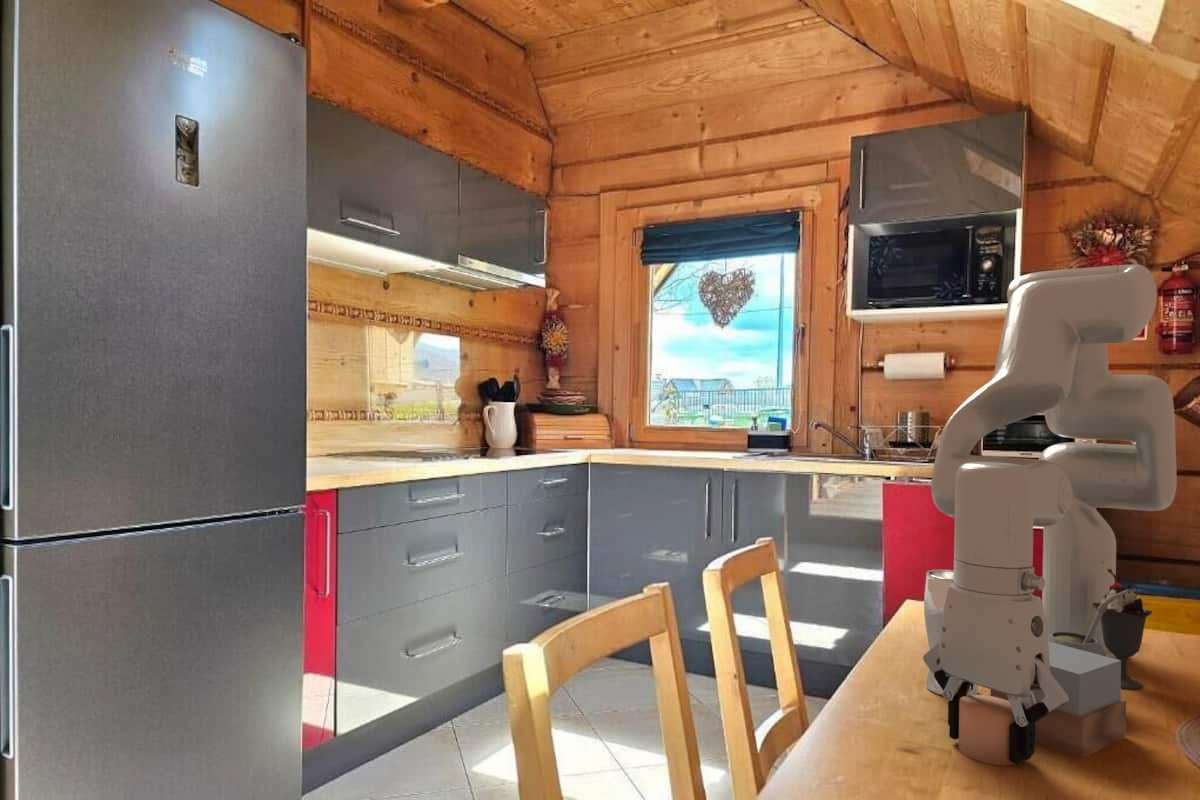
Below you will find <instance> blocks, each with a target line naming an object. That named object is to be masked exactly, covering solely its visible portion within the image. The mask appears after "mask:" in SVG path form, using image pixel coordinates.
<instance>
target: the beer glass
mask: <svg viewBox="0 0 1200 800" xmlns="http://www.w3.org/2000/svg"><path fill="white" fill-rule="evenodd" d="M925 574H926V575H925V577H926V579H925V587H924V598H923V600H924V601H923V611H924V613H923V615H924V623H925V631H926V637H927V642H928V643H927V644H928V648H929V650H931V649H932V648H933V647H934V646H936V645H937V644H938V643H939V642H940V631H941V621H942V614H943V608H944V603H945V599H946V594H947V591H948V588H949V585H951V584H954V569H931V570H928V571H926V573H925ZM925 686H926V688H927V689H928V690H929V691H930V692H932V693H934V694H936V695H939V696H942V697H944V696H943V690H942V688H941V687H940V685H939V684H938V682H937V681H936V679H935V677H934V673H932V672H931V670H930V669H929V668H928V675H927V678H926V685H925ZM978 691H979V690H978V685H976V684H973V683H972V684H971V686H970V688H969V691H968V693H967V696H968V695H979V694H978V693H979V692H978Z"/></svg>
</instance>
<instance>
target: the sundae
mask: <svg viewBox="0 0 1200 800" xmlns="http://www.w3.org/2000/svg"><path fill="white" fill-rule="evenodd" d="M1107 571H1108V572H1109V573H1111V574H1112V575H1113V577H1114V579H1115V583H1114V584H1113V585H1111V586H1110V587H1109V589H1110V591H1109V592H1108V593H1107V594H1106V595H1105V596H1104V597H1103V599H1102V602H1101V603H1103V602H1104V601H1105V600H1107V599H1108V598H1109V597H1111V596H1113V595H1115V594H1118V593H1120V592H1123V591H1125V590H1128V592H1127V593H1125V594H1124V595H1122V596H1120V597H1119V598H1117V599H1115V600H1114V601H1112V602H1111V603H1110V604H1109V605H1108V608H1107V609H1106V611H1105V613H1103V615H1102V617H1101V626H1102V634H1103V639H1104V644H1105V646H1106V647H1107V649H1108V650H1109V651H1110V652H1111V653H1112V654H1114V655H1115V657H1116V658H1117V660H1121V689H1122V690H1130V691H1131V690H1132V691H1133V690H1136V691H1137V690H1141V689H1143V688H1144V684H1143V683H1142V682H1140V681H1138V680H1136V679H1133V678H1131V676H1129V674H1128V669H1127V668H1128V667H1127V663H1128V662H1127V661H1128V659H1129V658H1131V657H1133V656H1135V655H1136V654H1137V653H1138V652H1139V651H1140V648H1141V645H1142V641H1143V636H1144V632H1145V631H1144V629H1145V625H1146V619H1147V617H1148V616H1150V615H1152V614H1153V610H1149V609H1148V610H1147V609H1146V608H1145V607H1144V606H1143V599H1142V598H1138V597H1137V595H1136V594H1135V593H1134V592H1133V591H1132V590H1131V589H1128V588H1126V587H1124V586H1123V585H1122V583H1119V582H1118V579H1117V575H1116V576H1115V574H1114V573H1113V572H1112V569H1107ZM1101 603H1093V604H1092V605H1093V607H1095V608H1096V609H1097V610H1098V608H1099V606H1100V604H1101Z"/></svg>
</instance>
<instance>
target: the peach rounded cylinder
mask: <svg viewBox="0 0 1200 800" xmlns="http://www.w3.org/2000/svg"><path fill="white" fill-rule="evenodd" d="M1014 722H1015V718H1014V715H1013V712H1012V709H1011V706H1010V702H1009V701H1007V700H1004V699H1001V698H997V697H992V696H990V695H986V694H985V695H983V694H977V695H968V696H963V697H961V698H960V700H959V739H958V749H959V750H958V751H960V752H961V753H962V754H963V755H965V756H966V757H967V758H970V759H973V760H975V761H978V762H982V763H983V764H984V763H985V764H987V765H988V764H989V765H994V766H1013V765H1016V764H1015V763H1012V762H1011V761H1010V760H1009V729H1010V724H1011V723H1014Z"/></svg>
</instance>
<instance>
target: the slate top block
mask: <svg viewBox="0 0 1200 800" xmlns="http://www.w3.org/2000/svg"><path fill="white" fill-rule="evenodd" d="M1048 644H1049V658H1050V673H1051V674H1052V676H1053V677H1054V678H1055V679H1056V681H1057V682H1058V683H1059V685H1060V686H1061V687H1062V689H1063V690H1064V691H1065V693H1066V694H1067V695H1068V697H1069V701H1068V702H1067V703H1065V704H1064V705H1062V706H1060V707H1059V708H1057V710H1060V711H1063V712H1066V713H1069V714H1072V715H1075V716H1078V717H1080V716H1082V715H1085V714H1087V713H1090V712H1092V711H1095V710H1098V709H1100V708H1103V707H1105V706H1108V705H1110V704H1113V703H1115V702H1118V701H1120V699H1121V694H1122V693H1121V660H1117V659H1113V658H1110V657H1106V656H1102V655H1098V654H1094V653H1091V652H1087V651H1083V650H1079V649H1075V648H1071V647H1068V646H1064V645H1060V644H1056V643H1052V642H1049V641H1048ZM1032 691H1033V694H1034V697H1035V699H1036V702H1037V703H1038V702H1040V701H1041V700H1042V699H1044V698H1045V693H1044V691H1043V690H1041V691H1038V690H1032Z"/></svg>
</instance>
